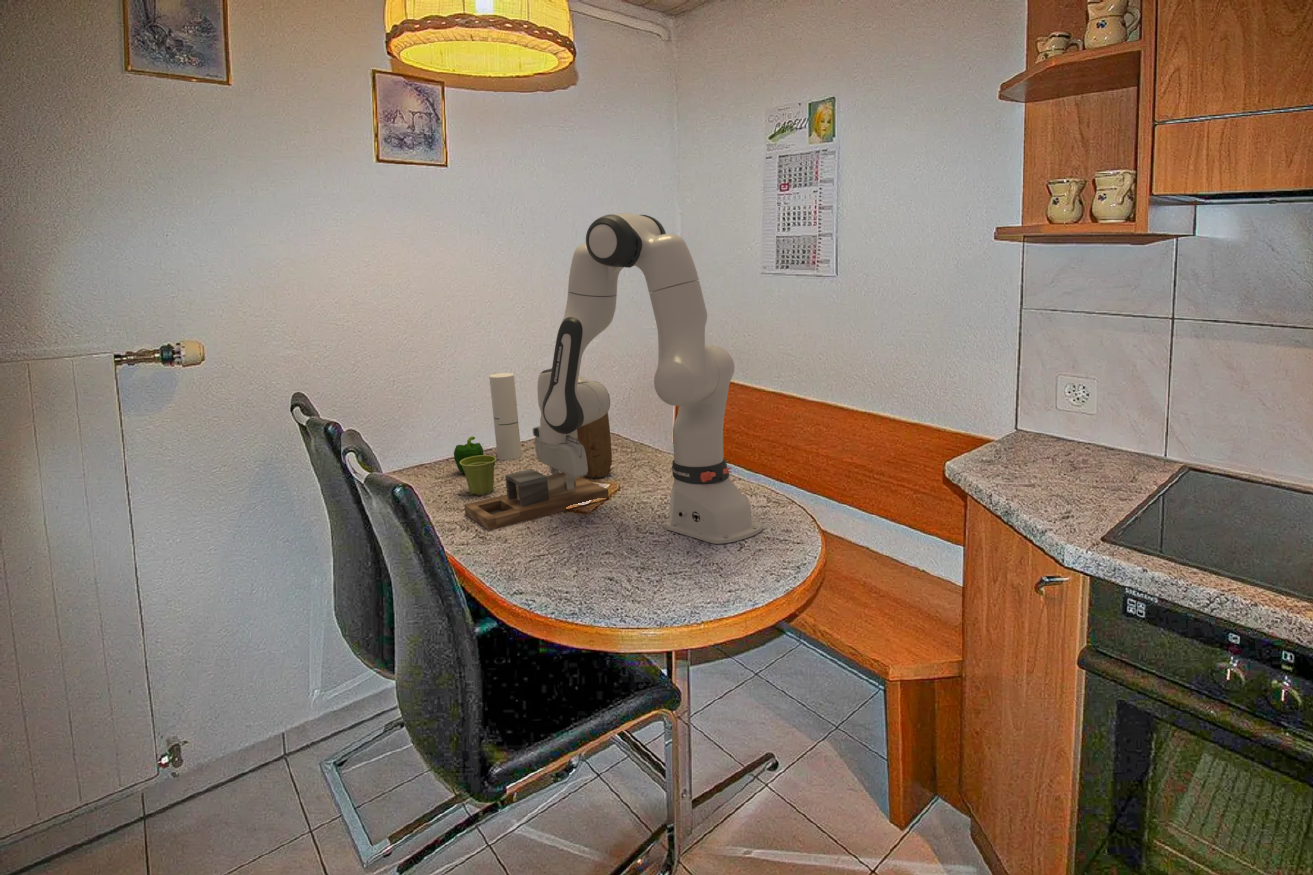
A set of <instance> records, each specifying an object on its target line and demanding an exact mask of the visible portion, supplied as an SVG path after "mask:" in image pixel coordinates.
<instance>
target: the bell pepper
mask: <svg viewBox="0 0 1313 875" xmlns="http://www.w3.org/2000/svg"><path fill="white" fill-rule="evenodd" d="M475 439H476V437H475V436H470V437H468V439H467V443H465V444H457V445H455V447H454V450H453V458H454V461H455V464H456V467H457V469H458V471H459V472H460V473H461V474H465V472H464V470H463V468H462V465H460V461H461V460H463V459H465V458H468V457H472V456H479V455H484V448H483V446H482V444H481V442H475V443H474V442H472V441H474V440H475Z"/></svg>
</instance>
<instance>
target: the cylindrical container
mask: <svg viewBox="0 0 1313 875" xmlns="http://www.w3.org/2000/svg"><path fill="white" fill-rule="evenodd" d="M515 381H516V380H515V374H514V373H512V372H500V373H494V374H491V375H489V386H490V394H491V396H490V397H491V405H492V414H493V416H492V417H493V424H494V426H493V427H494V435H495V444H496V445H495V446H496V456H497V457H496V458H497V459H498V460H499V461H500V460H501V461H511V460H517V459H520V458H522V456H523V455H522V448H521V447H522V446H521V435H520V426H519V415H518V403H517V393H516V392H517V391H516V382H515Z"/></svg>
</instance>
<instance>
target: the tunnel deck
mask: <svg viewBox="0 0 1313 875" xmlns="http://www.w3.org/2000/svg"><path fill="white" fill-rule="evenodd" d="M504 476H505V484H506V485H505V486H506V494H502V495H499V496H494V497H490V498H486V499H482V500H477V501H474V502H470V503H465V504H464V513H465V516H467V517H469V518H470V519H472V520H473V521H474V522H476V523H477V524H479V525H480V526H481V527H483V528H485V529H486V530H488V531H491V530H496V529H500V528H504V527H506V526H510V525H513V524H518V523H522V522H526V521H530V520H534V519H537V518H542V517H544V516H545V517H546V516H549V515H553V514H556V513H560V512H564V511H567V510H566V507H568V506H570V505H573V504H578V503H582V502H586V501H589V500H593V499H597V498H609V495H610V494H609V489H608V488H606V487H604V486H601V485H599V484H597V483H595V482H593V481H591V480H588V479H586V478H584V477H583V476H581V477H576V491H573V492H569V493H565V494H561V495H557V496H553V497H549V494H548V482H547V476H548V475H544V474H542V473H541V472H539V471H536V470H534V469H532V468H530V469H529V468H528V469H524V470H521V471H516V472H512V473H507V474H505V475H504ZM516 484H517V485H518V486H519V496H520V500H518V499H517V491H516Z"/></svg>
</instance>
